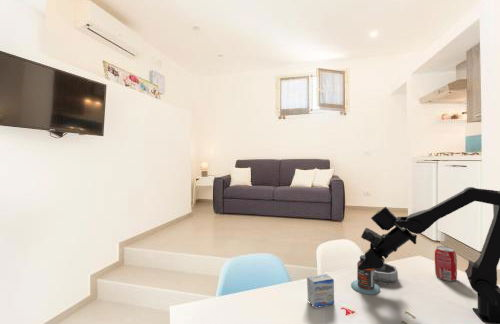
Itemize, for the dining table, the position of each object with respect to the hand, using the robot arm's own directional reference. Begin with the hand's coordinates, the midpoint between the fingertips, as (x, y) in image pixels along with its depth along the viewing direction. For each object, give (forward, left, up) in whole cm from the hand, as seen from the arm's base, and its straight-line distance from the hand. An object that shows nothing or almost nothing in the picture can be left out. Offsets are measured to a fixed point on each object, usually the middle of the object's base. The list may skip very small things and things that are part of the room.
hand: (360, 264), depth 96 cm
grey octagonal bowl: (+11, -8, -8) cm, 16 cm away
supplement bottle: (0, -2, -8) cm, 8 cm away
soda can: (+18, -32, -9) cm, 38 cm away
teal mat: (0, -1, -8) cm, 9 cm away
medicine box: (-16, +14, -9) cm, 23 cm away
